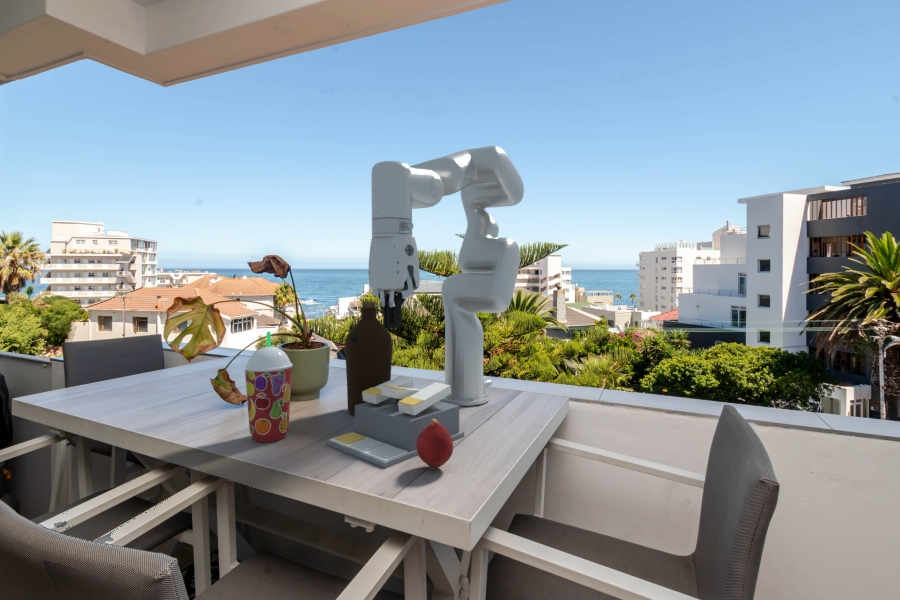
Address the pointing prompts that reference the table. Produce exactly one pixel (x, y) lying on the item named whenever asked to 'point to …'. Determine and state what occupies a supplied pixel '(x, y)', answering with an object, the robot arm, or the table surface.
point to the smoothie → (268, 392)
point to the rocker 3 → (424, 398)
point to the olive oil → (367, 355)
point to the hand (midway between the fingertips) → (392, 327)
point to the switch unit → (392, 431)
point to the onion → (434, 445)
